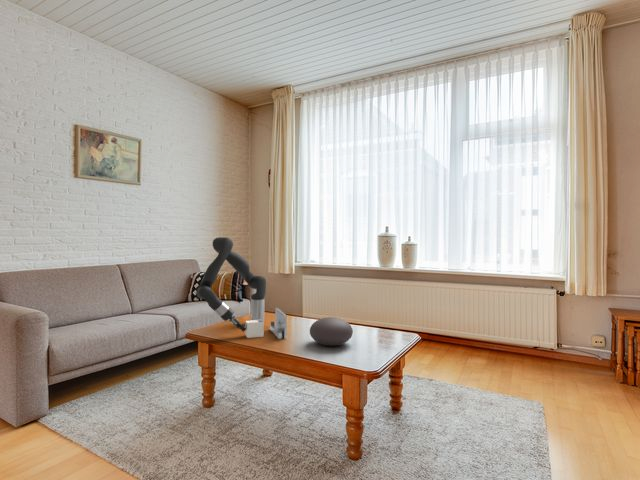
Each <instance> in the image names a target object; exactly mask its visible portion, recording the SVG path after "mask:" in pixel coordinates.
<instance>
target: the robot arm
mask: <svg viewBox="0 0 640 480" xmlns="http://www.w3.org/2000/svg"><path fill="white" fill-rule="evenodd" d="M233 246H234V242H233V240H232V238H230V237H224V236H223V237H222V236H221V237H220V236H219V237H216V238H214V239H213V240H212V247H213V249H214V251H215V252H216V253H217V254H218V255H217V256H216V257H215V258H214V260H213V261H212V262H211V263H210V264H209V265H208V266H207V268H206V271H204V275H203V278H202V280H201V281H200V283H199V285H198V287H197V289H196V290H195V291H196V292H195V294H196V297H197V298H198V299H200V300H204V301H205V302H207V305H208V307H209V308H210V309H211V310H213V311H214V312H215V314H216V315H218V317H220V318H221V319H222V320H223V321H224V322H227V321H228V320H229V322H230V323H231V324H232V325H233V326H235V327H236V328H237V329H240V330H241V332H246V329H245V326H243V325H242V323H241V322H240V321H239V319H238V318H237V317H236V316H235V315H234V313H235V311H234V310H233V309H232V308H231V307H230V306H229V305H227V304H226V303H225V302H224V301H223V300H221V299H220V298H219V297H218V295H217V294H216V293H215V291H214V290H212V289H211V287H212V286H213V285H214V283H215V282H216V280H217V277H218V275H219V272H220V270H221V268H222V266H223V264H224V263H225V261H226V262H227V263H228V264H229V265H231V267H232V268H233V270H235V271H236V272H237V273H238V274H239V275H240V277H241V278H243V280H245V282H246V284H247V285H248V286H249V288H251V289H253V290H255V293H253V294H251V296H250V320H258V319H262V320H263V321H264V322H265V295H266V292H267V291H266V289H267V279H266V277H265V276H263V275H255V274H254V273H252V271H251V270H250V267H251V266H250V264H249V262H248V261H247V260H246V259H245V257H243V256H242V255H241V254H239V253H237V252H235V251H234V250H233Z"/></svg>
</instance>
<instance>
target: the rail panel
mask: <svg viewBox="0 0 640 480" xmlns="http://www.w3.org/2000/svg"><path fill="white" fill-rule="evenodd" d="M274 312H275V314H274V315H275V318H274V319H275V320H273V321H270V324H269V327H270V328H269V329H270V331H271V333H273V335H274V336H275V337H276V338H277V339H278V340H282V339H284V340H287V335H288V334H287V331H288V330H287V327H288V326H287V324H288V322H287V318H288V317H287V314H285V313H284V312H283V310H281V309H279V308H278V307H275V311H274Z"/></svg>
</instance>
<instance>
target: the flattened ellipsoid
mask: <svg viewBox="0 0 640 480" xmlns="http://www.w3.org/2000/svg"><path fill="white" fill-rule="evenodd" d="M353 331H354V330H353V328H352V325H351V324H350V323H349V322H348V321H347V320H345V319H342V318H340V317H333V316H329V317H327V316H326V317H322V318H319V319H317V320H316V321H314V322H313V323H312V324H311V326H310V327H309V335H310V337H311V338H312V340H314V341H315V342H316V343H318V344H321V345H324V346H329V347H330V346H331V347H333V346H335V347H336V346H340V345H342V344H346V343H347V342H349V340H351V339H352V337H353V333H354V332H353Z"/></svg>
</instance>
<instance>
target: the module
mask: <svg viewBox="0 0 640 480" xmlns="http://www.w3.org/2000/svg"><path fill="white" fill-rule="evenodd" d="M264 324H265V320H264V321H263V320H262V319H258V320H251V319H250V320H245V323H244V328H245V329H246V330H245V336H246V338H247V339H248V338H250V339H252V338H263V337H264V334H265V333H264V330H265V327H264V326H265V325H264Z"/></svg>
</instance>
